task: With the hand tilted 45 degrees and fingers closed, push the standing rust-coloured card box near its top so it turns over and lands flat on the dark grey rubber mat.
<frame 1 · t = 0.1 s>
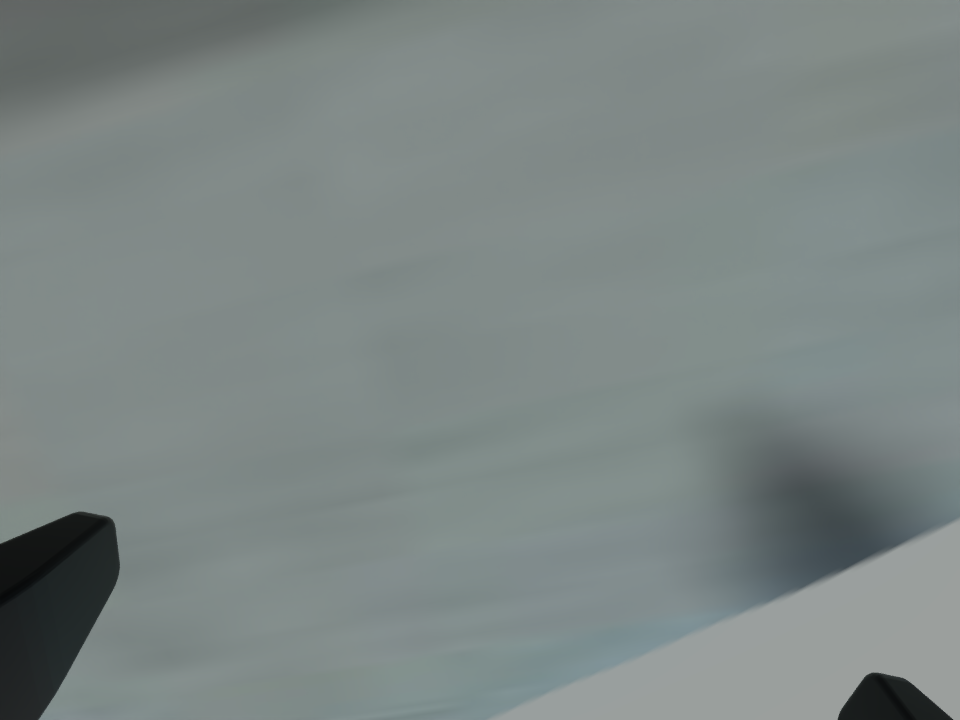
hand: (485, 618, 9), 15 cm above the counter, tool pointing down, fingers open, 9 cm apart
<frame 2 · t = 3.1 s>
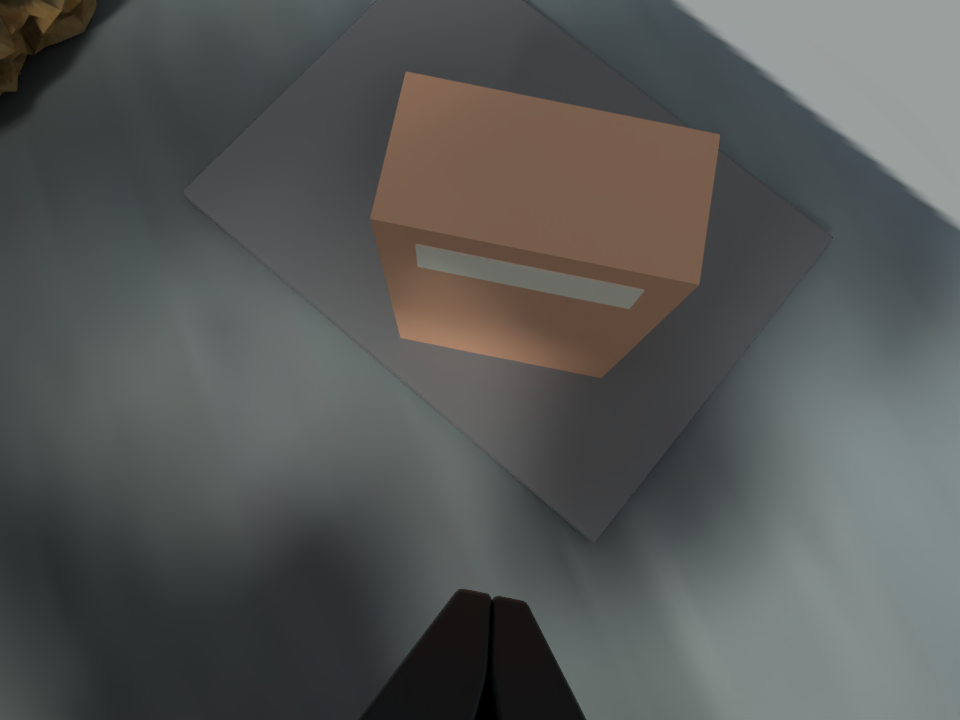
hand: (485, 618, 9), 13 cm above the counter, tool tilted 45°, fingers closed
card box: (510, 309, 23), resting on mat
mat: (510, 221, 24), on the counter
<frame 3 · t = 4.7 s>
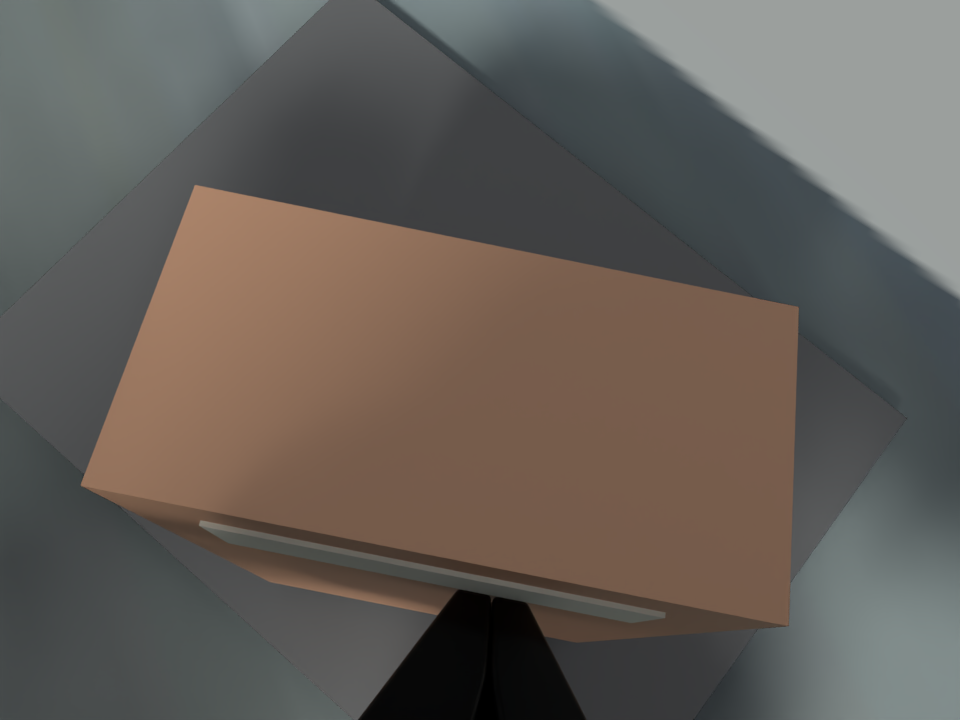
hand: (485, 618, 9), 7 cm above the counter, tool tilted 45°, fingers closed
card box: (439, 534, 15), point 1 cm above the counter, tilted 9°, touching mat
mat: (442, 393, 17), on the counter
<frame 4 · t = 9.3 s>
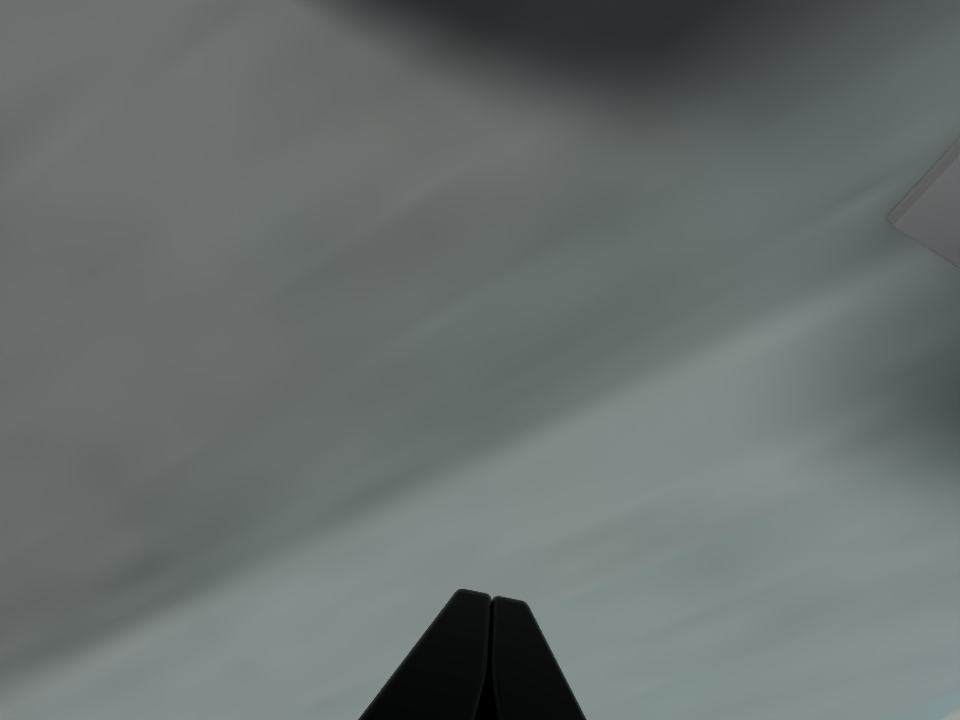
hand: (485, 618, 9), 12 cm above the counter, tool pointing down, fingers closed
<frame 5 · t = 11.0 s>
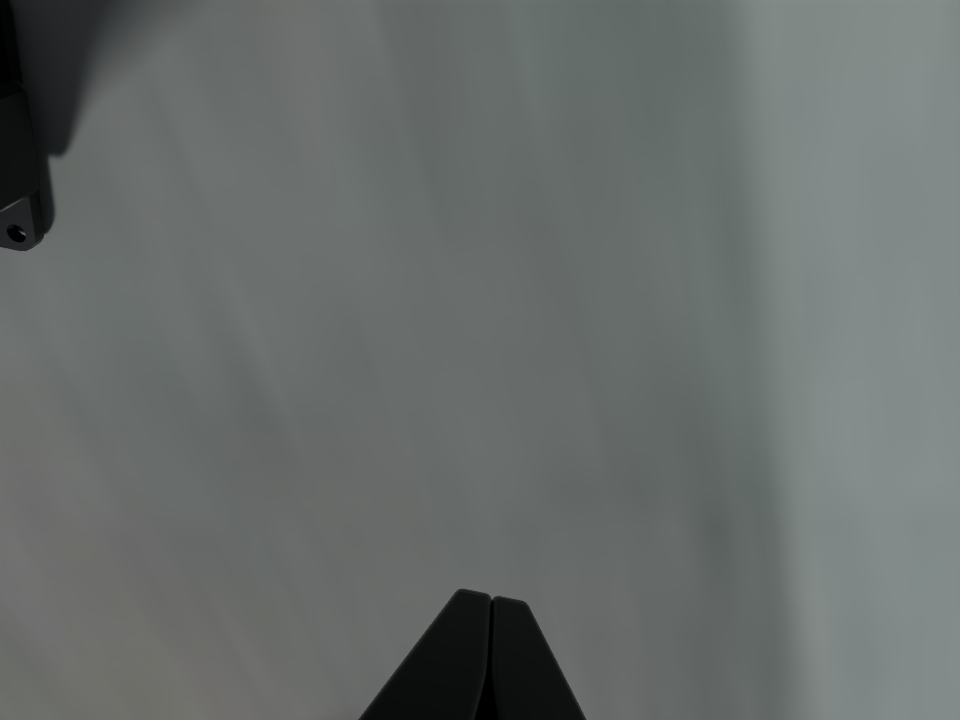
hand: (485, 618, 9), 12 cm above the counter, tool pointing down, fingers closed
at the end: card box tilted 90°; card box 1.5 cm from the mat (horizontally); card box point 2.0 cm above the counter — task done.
